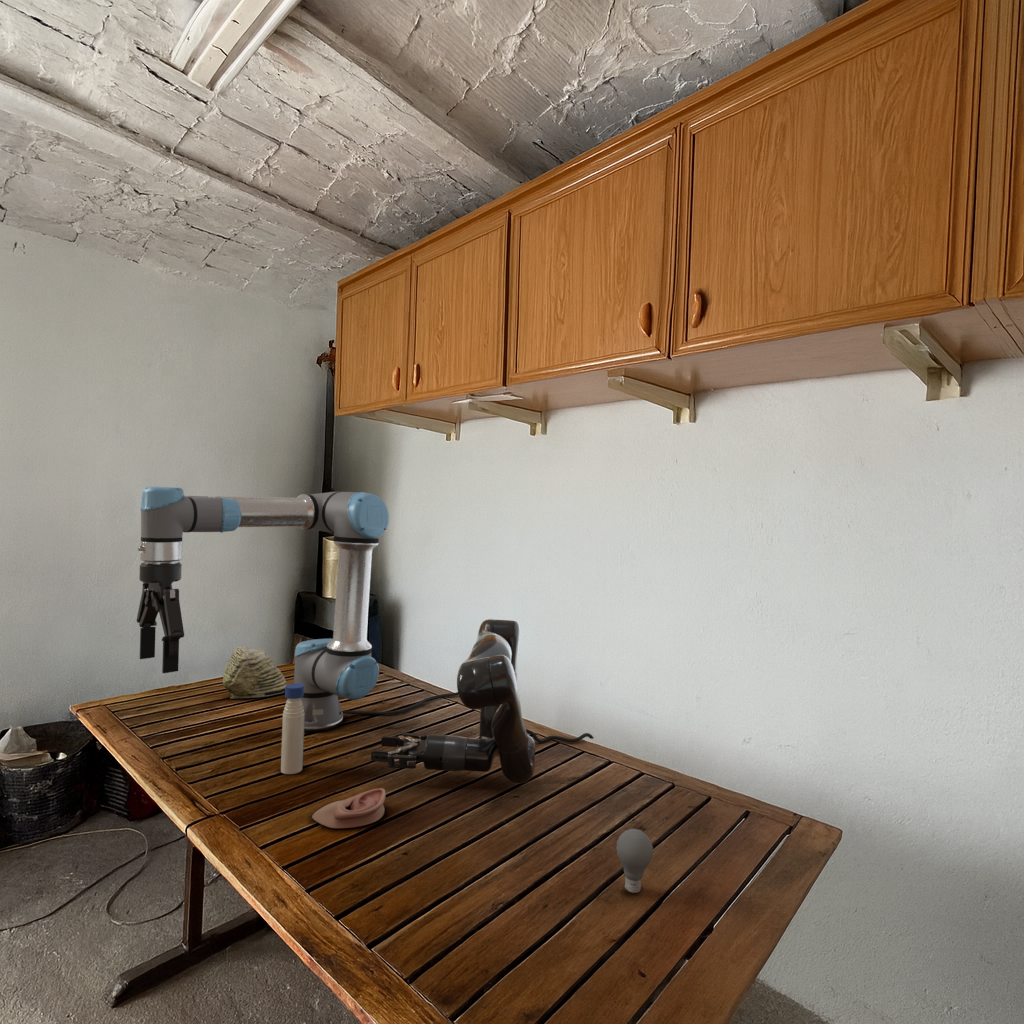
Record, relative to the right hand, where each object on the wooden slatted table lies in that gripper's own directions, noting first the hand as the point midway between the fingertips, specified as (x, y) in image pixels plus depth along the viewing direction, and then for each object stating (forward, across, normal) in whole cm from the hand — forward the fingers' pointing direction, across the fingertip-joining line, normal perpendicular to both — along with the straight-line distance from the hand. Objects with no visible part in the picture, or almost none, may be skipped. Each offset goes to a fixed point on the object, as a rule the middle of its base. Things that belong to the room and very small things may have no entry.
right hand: (376, 748), depth 145 cm
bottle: (+20, 0, +6) cm, 21 cm away
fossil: (+52, -51, +6) cm, 73 cm away
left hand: (+42, +16, -21) cm, 50 cm away
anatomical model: (0, +18, +6) cm, 19 cm away
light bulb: (-53, +36, +6) cm, 65 cm away
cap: (+20, 0, -13) cm, 24 cm away
